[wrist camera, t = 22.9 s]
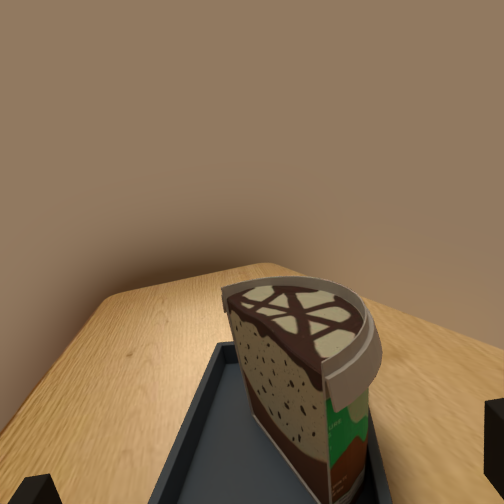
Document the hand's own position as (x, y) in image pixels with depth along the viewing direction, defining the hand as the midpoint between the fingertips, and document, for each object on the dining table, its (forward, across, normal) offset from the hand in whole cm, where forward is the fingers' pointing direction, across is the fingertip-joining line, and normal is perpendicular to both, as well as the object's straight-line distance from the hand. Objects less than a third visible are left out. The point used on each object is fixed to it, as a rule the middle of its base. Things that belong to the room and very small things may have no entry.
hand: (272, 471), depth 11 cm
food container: (+10, +3, -9) cm, 14 cm away
